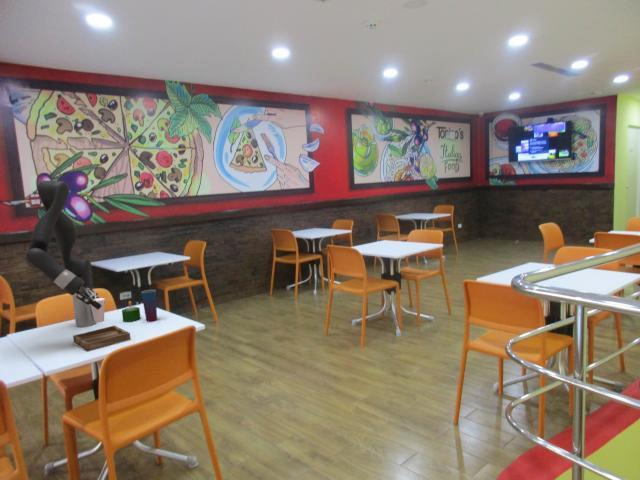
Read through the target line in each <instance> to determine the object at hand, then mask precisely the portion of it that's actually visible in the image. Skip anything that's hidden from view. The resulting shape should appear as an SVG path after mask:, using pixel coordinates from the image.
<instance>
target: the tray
mask: <svg viewBox="0 0 640 480" xmlns="http://www.w3.org/2000/svg"><path fill="white" fill-rule="evenodd" d="M72 338H73V339H72V340H73V343H74V344H76V345H77V346H78V347H80V348H81V349H83V350H84V351H86V352H91V351H94V350H98V349H102V348H104V347H108V346H112V345H115V344H119V343H123V342H126V341H129V340H132V339H131V332H129V331H127V330H125V329H122V328H121V327H120V326H117V325H112V326H111V325H110V326H106V327H103V328H98V329H95V330H90V331H87V332H83V333H79V334H74V335H72Z"/></svg>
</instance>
